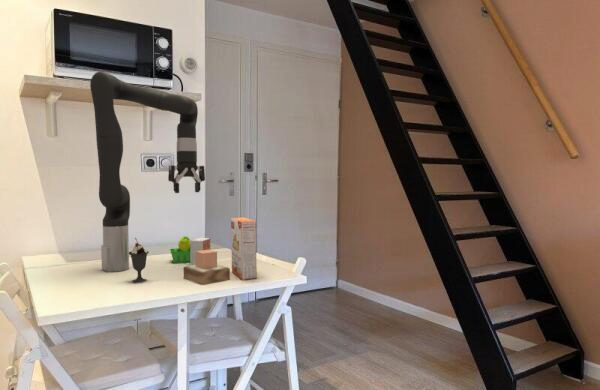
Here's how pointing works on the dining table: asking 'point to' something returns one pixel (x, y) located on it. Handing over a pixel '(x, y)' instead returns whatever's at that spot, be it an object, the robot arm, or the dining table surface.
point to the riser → (206, 274)
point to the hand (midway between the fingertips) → (187, 192)
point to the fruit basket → (182, 251)
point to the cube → (206, 259)
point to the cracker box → (243, 248)
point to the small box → (198, 247)
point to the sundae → (138, 261)
